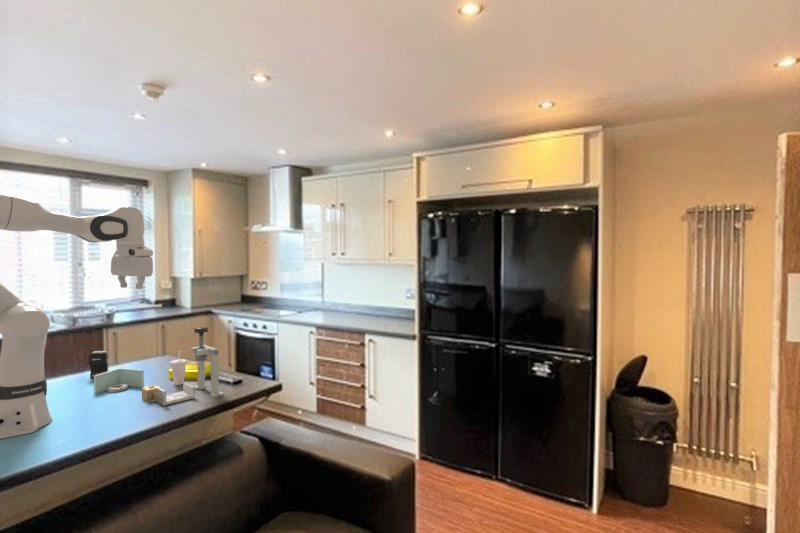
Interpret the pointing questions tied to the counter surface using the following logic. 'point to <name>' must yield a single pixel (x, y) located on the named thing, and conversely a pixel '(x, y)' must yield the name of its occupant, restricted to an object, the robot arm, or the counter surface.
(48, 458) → the counter surface
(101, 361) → the black backpack
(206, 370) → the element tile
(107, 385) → the l-shaped corner panel
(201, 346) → the ram
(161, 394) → the bed
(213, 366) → the press frame
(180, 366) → the smoothie
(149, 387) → the tan wooden cube
